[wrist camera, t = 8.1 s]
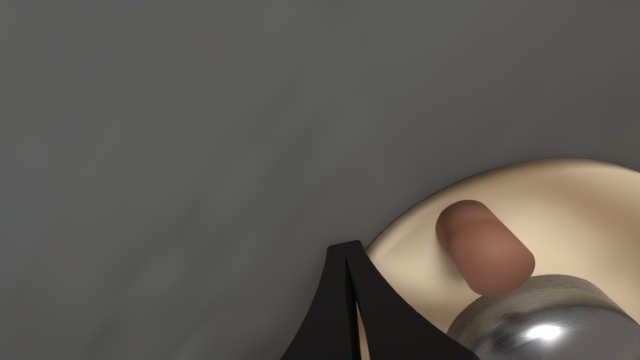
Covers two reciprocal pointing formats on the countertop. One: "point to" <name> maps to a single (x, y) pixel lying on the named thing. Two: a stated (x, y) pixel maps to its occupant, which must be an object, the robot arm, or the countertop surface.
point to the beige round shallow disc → (515, 237)
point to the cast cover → (548, 323)
